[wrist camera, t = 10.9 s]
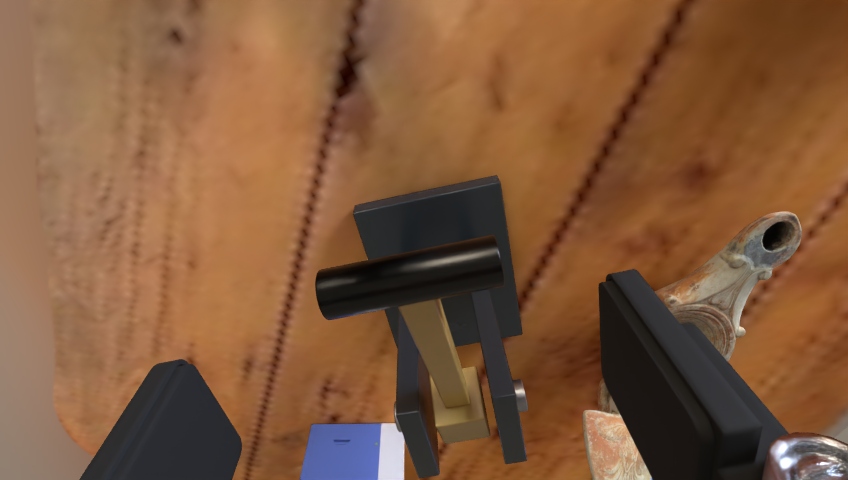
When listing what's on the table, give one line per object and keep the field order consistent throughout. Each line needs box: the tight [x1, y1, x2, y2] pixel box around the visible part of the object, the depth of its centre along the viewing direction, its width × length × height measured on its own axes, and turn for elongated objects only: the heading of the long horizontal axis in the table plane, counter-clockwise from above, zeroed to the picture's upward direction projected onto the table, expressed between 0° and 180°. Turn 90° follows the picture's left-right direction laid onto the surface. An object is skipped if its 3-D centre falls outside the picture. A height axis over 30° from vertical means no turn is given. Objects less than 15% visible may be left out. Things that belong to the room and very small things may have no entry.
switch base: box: [353, 175, 528, 478], centre depth 26 cm, size 12×9×13 cm
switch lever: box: [315, 235, 505, 444], centre depth 17 cm, size 13×5×2 cm, turn 13°
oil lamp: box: [583, 212, 801, 480], centre depth 30 cm, size 9×21×10 cm, turn 153°
